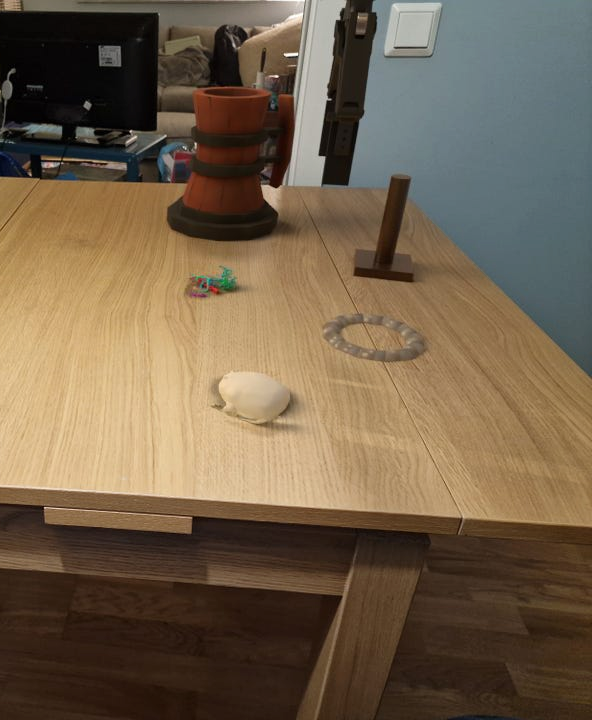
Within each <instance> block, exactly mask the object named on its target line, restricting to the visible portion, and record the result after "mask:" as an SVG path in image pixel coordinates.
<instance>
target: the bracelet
mask: <svg viewBox="0 0 592 720" xmlns="http://www.w3.org/2000/svg"><path fill="white" fill-rule="evenodd" d="M359 324H366V325H367V324H368V325H374V326H380V327H384V328H387V329H389V330H392V331H395V332H396V333H397V334H399V335H400V336H401V337H403V338H404V340H405V345H403V346H402V347H401V348H397V349H396V348H395V349H388V350H387V349H386V350H381V349H375V348H374V349H373V348H368V347H362V346H359V345H357V344H354V343H352V342H350V341H347V340H346V339H344V337H343V336H341V330H342V329H344V328H346V327H347V326H349V325H359ZM321 337H322V338H323V340H325V341H326V342H327V343H328V344H329V345H330V346H331V347H332V348H333V349H334V350H338V351H340V352H342V353H345V354H347V355H349V356H351V357H354V358H357V359H362V360H368V361H375V362H382V363H395V362H396V363H397V362H401V361H402V362H403V361H411V360H414V359H415V358H417V357H418V356H420V355H421V354H423V353H424V352H425V351H426V346H425V340H424V336H422V334H420V333H419V332H418V331H416V329H414V328H413V327H412V326H410V325H409V324H407V323H405V322H402V321H399V320H396V319H394V318H392V317H388V316H385V315H378V314H371V313H362V312H361V313H350V314H349V313H348V314H340V315H338V316H335V317H334V318H332V319H330V320H328V321H326V322H325V323H324V324H323V325H322V330H321Z"/></svg>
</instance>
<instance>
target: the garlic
mask: <svg viewBox="0 0 592 720" xmlns="http://www.w3.org/2000/svg"><path fill="white" fill-rule="evenodd" d="M218 392H219V394H220V397H221V398H222V400H223V401H224V402H225V405H224V406H222V405H221V404H219V405H217V404H215V403H214V405H210V407H211V408H214V409H215V410H218V411H220V412H222V413H232V414H235V415H236V417H238V419H239V420H241V421H244V422H248V423H250V424H251V423H252V424H254V425H255V424H256V425H257V424H258V425H261V424H265V423H268V422H270V421H272V420H275V419H276V418H277V417H279V416H280V414H282V413H283V412H284V411H285V409H286V408H287V406H288V405H289V403H290V399H291V394H290V391H289V389H288V387H287V386H285V384H283V383H282V382H280V381H278V380H277V379H275V378H273V377H272V376H270V375H268V374H266V373H261V372H257V371H250V370H249V371H235V370H231V371H230V372H228V373H227V374H225V375H223V376H222V379H221V380H220V381H219V382H218Z"/></svg>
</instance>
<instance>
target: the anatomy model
mask: <svg viewBox="0 0 592 720" xmlns="http://www.w3.org/2000/svg"><path fill="white" fill-rule="evenodd" d="M218 268H222V269H223V271H222V272H221V274H217V277H219V278H212V277H211V276H208V275H196V274H192V273H190V274H189V276H190V277H185V279H186V280H187V279H188V280H192V283H195V280H196V282H198V283H200V285H199V288H198V286H197V285H196V286H195V285H194V286H192V289H194V290H200V293H199V294H196V293H195V292H193V291H190V292H189V294H190V295H192V297H198V298H204V297H207V294H205V293H206V292H208V291H209V290H210V291H212V292H213V293H215V294H216V295H219V294H220V290H219V289H218V288H216V287H217V285H218V284H217V283H215V282H218V283H219V288H222V290H224V291H225V290H229V289H230V290H231V289H232V288H233V289H234V290H235V288H236V285H237V283H238V282H237V279H238V277H237V276H236V275H234V274H235V273H234V272H235V271H234V270H233V268H231V267H229V268H228V267H226V266H224V265H219V266H218ZM203 286H204V287H205V288H206V290H203V291H201V290H202V289H203Z"/></svg>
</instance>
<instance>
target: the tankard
mask: <svg viewBox="0 0 592 720" xmlns="http://www.w3.org/2000/svg"><path fill="white" fill-rule="evenodd" d="M271 97H272V92H270V91H268V90H267V89H260V88H253V87H239V86H222V87H221V86H216V87H215V86H213V87H204V88H203V87H202V88H198V89H195V90H193V91H192V98H193V99H192V100H193V106H194V109H193V110H194V116H195V125H194V126H192V127H190V136H191V137H190V138H191V140H192V141H193V142H194V143H195V144H196V149H195V153H194V154H193V155H190V157H189V162H188V168H189V169H190V171H191V173H190V176H189V178H188V182H187V183H186V187H185V190H184V193H183V195H181V196H180V197H179V198H178V199H177V200H176V201H173V203H172V204H170V205H169V206H168V207H167V208H166V221H167V223H168V225H169V227H170V229H171V230H173V231H176V232H178V233H180V234H182V235H185V236H188V237H191V238H196V239H197V238H198V239H203V240H210V241H217V242H224V241H225V242H226V241H250V240H253V239H257V238H262V237H265V236H268V235H271V234H272V233H273V231H274V230H275V229H276V227H277V226H278V221H279V212H278V211H277V210H276V209H275V208H274V207H273V205H271V204H270V203H269V202H268V201H267V200H266V199H265V197H264V192H263V188H262V182H261V179H260V178H261V177H260V174H261V173H262V172H263V171H265V167H266V164H272V169H271V172H270V173H271V174H270V179H269V182H268V186H269V187H272V188H273V189H275V190H276V189H278V188H280V187H281V186H282V183H283V181H284V178H285V175H286V173H287V170H288V169H289V165H290V163H291V160H292V153H293V146H294V138H295V129H296V120H295V118H296V115H295V112H296V111H295V97H294V95H291V94H283V93H280V94H278V96H277V101H278V102H277V105H278V106H277V111H278V112H277V125H278V126H267V127H263V126H264V123H265V118H266V114H267V111H268V108H269V104H270V101H271ZM276 135H277V136H276ZM269 136H276V144H275V154H268V155H259V147H260V145H262V144H264V143H266V142H268V139H269Z"/></svg>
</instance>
